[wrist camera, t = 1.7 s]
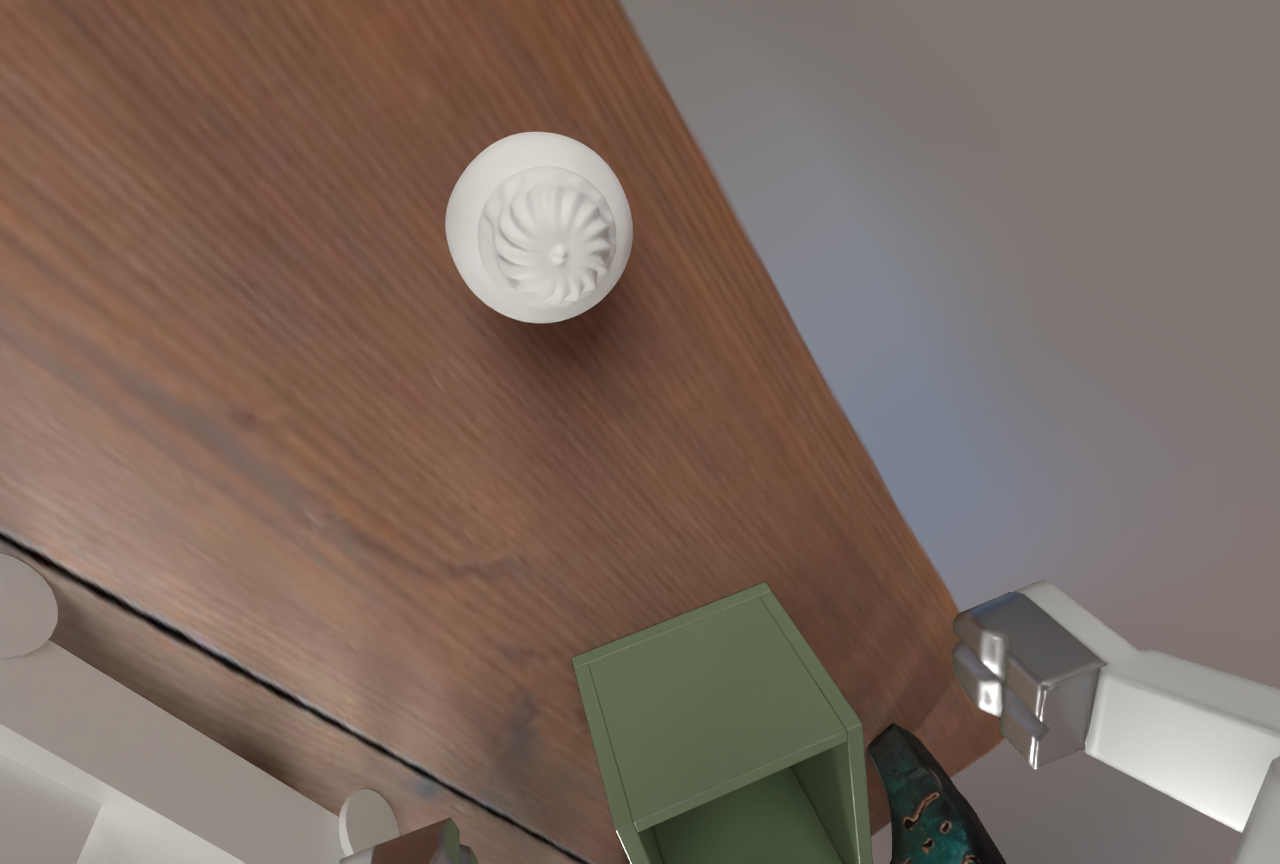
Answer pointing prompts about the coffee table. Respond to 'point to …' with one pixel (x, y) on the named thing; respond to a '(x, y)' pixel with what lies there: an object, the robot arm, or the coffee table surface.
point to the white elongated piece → (136, 769)
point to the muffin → (539, 227)
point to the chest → (726, 741)
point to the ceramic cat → (927, 806)
